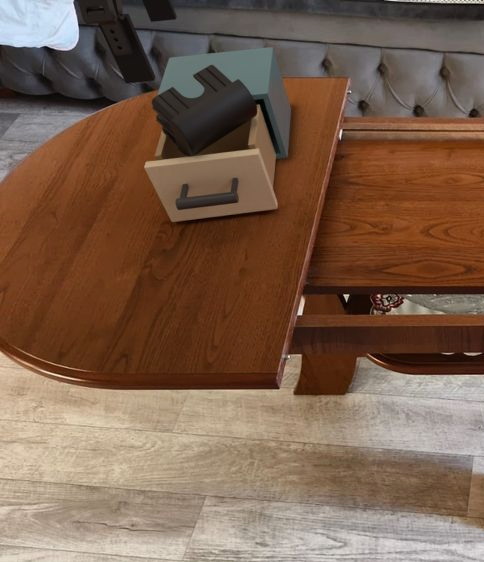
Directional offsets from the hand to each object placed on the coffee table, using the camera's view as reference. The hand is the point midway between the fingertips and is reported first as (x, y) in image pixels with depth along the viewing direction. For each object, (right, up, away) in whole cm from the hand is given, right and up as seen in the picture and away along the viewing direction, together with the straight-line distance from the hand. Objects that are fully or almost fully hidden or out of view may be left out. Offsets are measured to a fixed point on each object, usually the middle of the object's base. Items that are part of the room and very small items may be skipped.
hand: (153, 48), depth 72 cm
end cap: (0, -6, +15) cm, 16 cm away
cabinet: (-2, -4, +29) cm, 29 cm away
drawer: (+1, -14, +18) cm, 23 cm away
